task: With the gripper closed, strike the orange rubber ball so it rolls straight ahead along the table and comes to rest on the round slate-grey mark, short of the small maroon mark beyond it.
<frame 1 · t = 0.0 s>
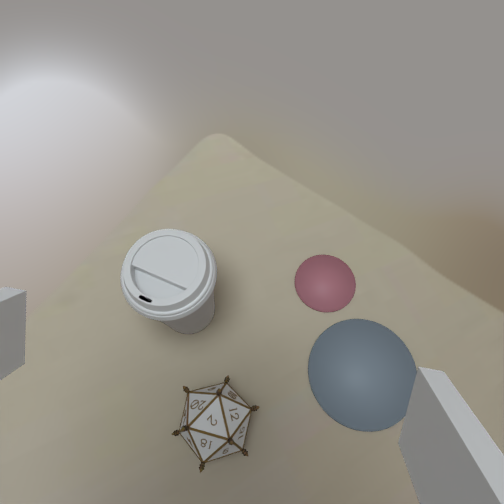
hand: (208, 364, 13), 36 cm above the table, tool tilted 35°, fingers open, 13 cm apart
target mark: (362, 372, 47), on the table
game die: (218, 421, 45), on the table
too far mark: (324, 282, 52), on the table
coffee cup: (190, 309, 51), on the table
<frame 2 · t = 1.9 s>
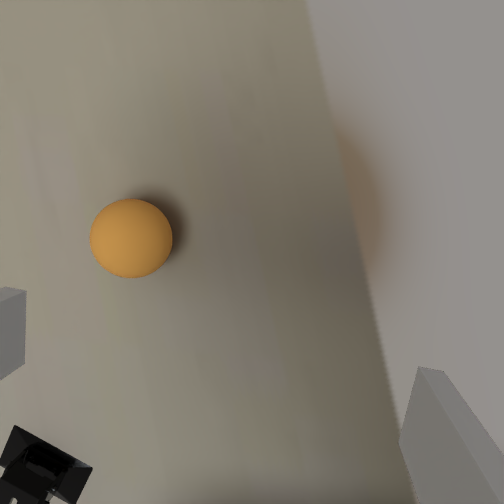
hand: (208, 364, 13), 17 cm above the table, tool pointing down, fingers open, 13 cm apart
ball: (132, 238, 27), on the table
black boxy piece: (50, 459, 36), on the table
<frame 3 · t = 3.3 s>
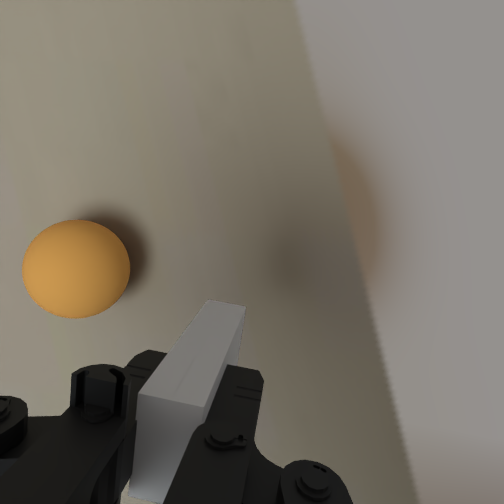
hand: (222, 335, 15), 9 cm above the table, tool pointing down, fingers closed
ball: (78, 268, 22), on the table
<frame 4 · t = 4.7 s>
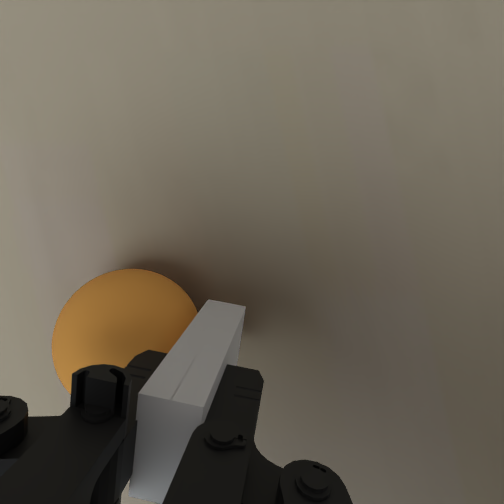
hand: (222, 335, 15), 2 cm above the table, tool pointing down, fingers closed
ball: (131, 339, 15), on the table
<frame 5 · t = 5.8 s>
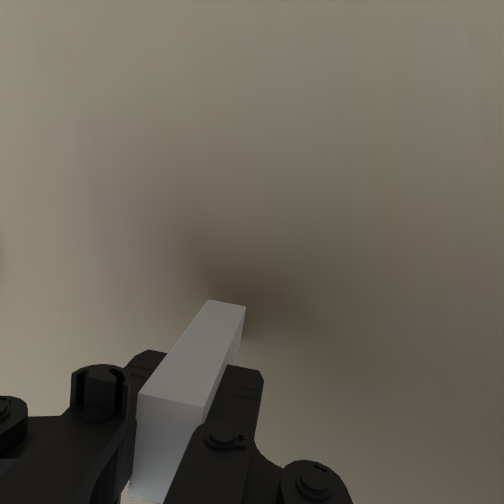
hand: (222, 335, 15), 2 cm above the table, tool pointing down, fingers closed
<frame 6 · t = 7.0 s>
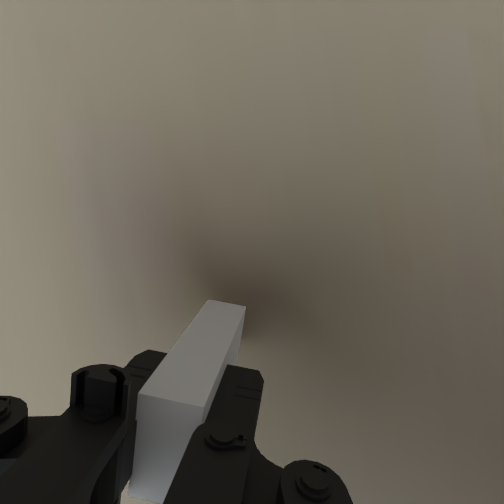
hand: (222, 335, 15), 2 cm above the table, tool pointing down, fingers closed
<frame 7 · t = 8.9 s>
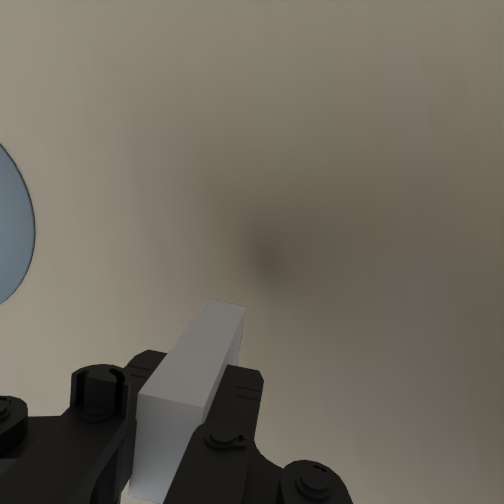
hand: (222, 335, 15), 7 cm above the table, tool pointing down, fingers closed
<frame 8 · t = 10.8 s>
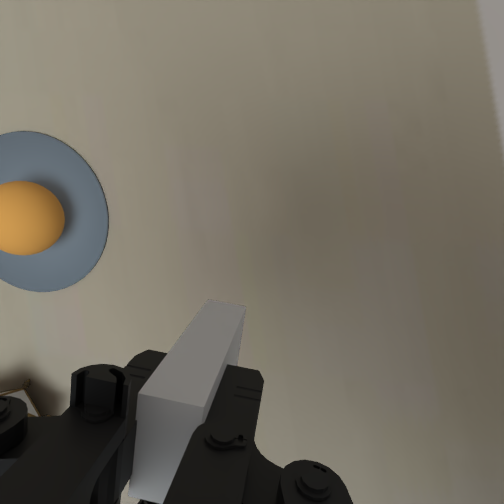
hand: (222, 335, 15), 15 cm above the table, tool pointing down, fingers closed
ball: (23, 218, 29), on the table
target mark: (32, 214, 32), on the table
game die: (29, 407, 36), on the table
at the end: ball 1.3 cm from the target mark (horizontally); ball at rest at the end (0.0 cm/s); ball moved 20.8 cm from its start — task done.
